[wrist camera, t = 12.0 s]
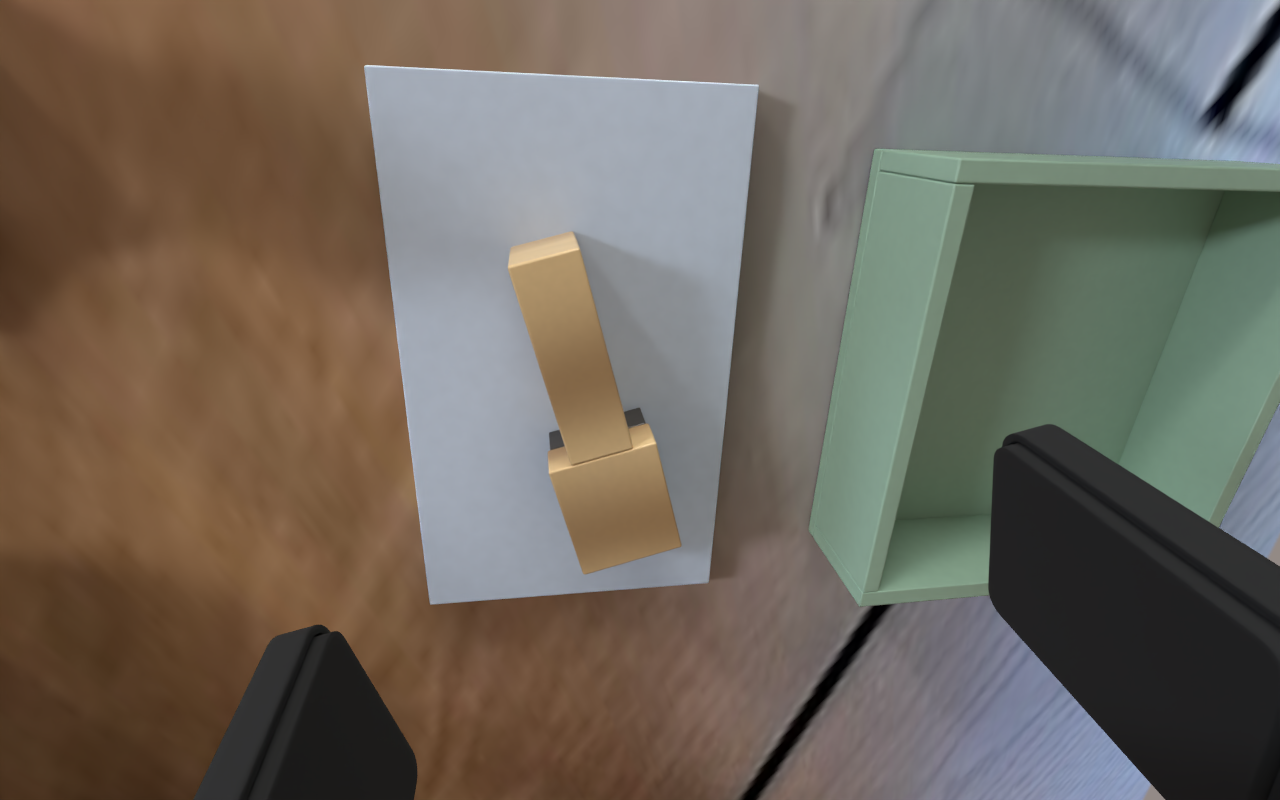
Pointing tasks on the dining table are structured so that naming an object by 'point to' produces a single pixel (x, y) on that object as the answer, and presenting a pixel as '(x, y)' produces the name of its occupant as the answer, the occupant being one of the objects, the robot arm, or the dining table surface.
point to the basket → (1041, 345)
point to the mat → (620, 283)
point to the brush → (590, 415)
